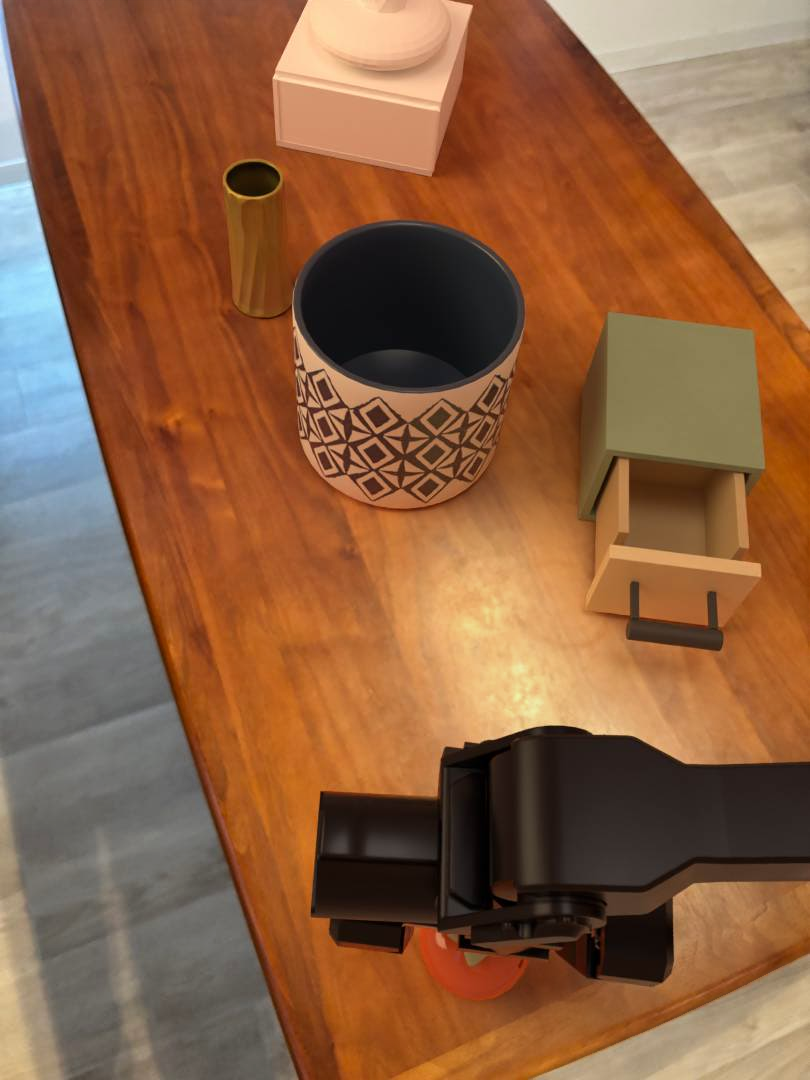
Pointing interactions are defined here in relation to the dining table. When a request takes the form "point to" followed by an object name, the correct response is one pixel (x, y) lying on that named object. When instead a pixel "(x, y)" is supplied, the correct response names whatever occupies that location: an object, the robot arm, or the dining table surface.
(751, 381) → the cabinet
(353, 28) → the pink lidded box
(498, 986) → the tomato
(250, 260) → the vase
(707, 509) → the drawer
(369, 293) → the planter
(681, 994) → the dining table surface
